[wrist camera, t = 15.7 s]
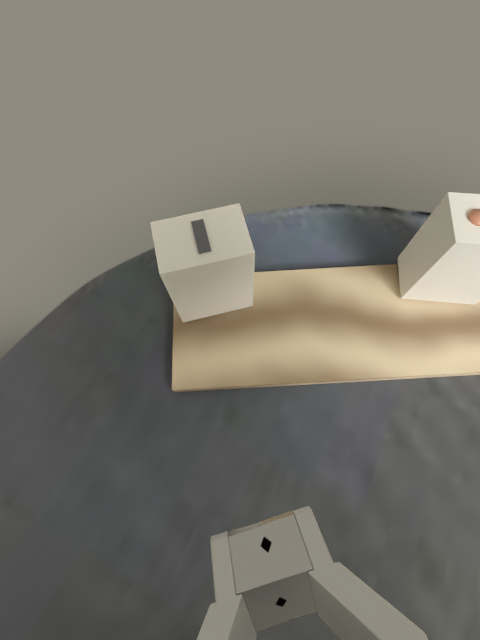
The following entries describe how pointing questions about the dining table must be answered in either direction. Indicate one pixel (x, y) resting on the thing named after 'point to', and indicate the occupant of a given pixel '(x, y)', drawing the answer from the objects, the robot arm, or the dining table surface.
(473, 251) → the tile two
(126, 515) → the dining table surface
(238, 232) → the tile one
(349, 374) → the digit board
